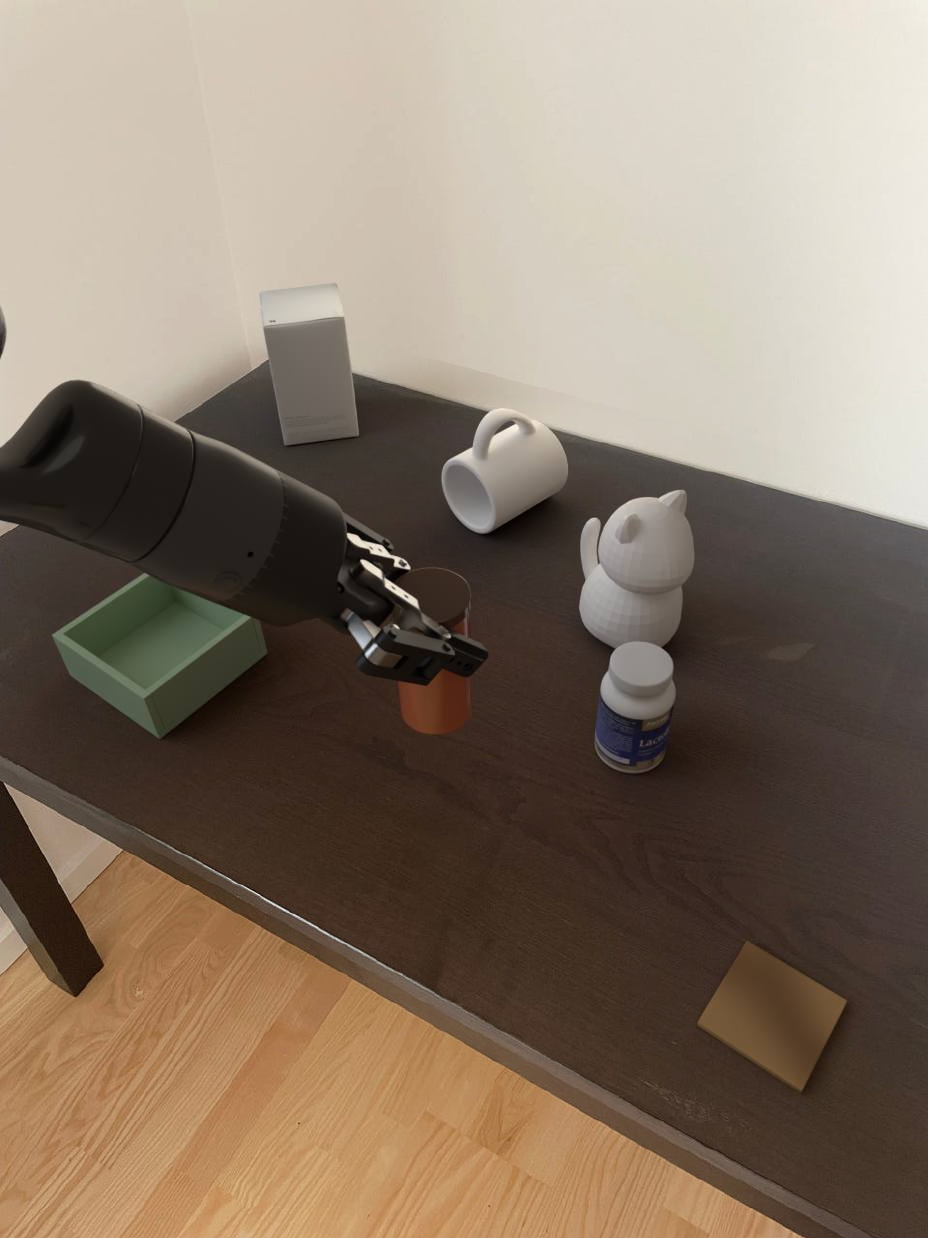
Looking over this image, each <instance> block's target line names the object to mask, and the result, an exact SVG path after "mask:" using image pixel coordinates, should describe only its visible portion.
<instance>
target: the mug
mask: <svg viewBox="0 0 928 1238" xmlns="http://www.w3.org/2000/svg"><path fill="white" fill-rule="evenodd" d="M511 421H512V422H513V423H514V424H513V425H511V426H509V427H507V428H505V429H504V430H501V431H500V432H498V433H496V432H497V431H498V429H500V428H501V427H502V426H503V425H504V424H506V423H507V422H511ZM568 464H569V463H568V459H567V455H566V453H565V450H564V448H563V445H562V443H561V442H560V440H559V438H558V437H557V436H556V435H555V434H554V432H553V431H552V430H551V429H550V428H549V427H548V426H546V425H545V424H543V423H542V422H540V421H537V420H535V419H530V418H529V417H527V416H526V415H525V414H523V413H522V412H520V411H517V410H515V409H512V408H505V407H500V408H494V409H493V410H490V411H489V412H487V413H486V414H485V415H484V416H483V418H481V421H480V422H479V424H478V426H477V429H476V431H475V434H474V437H473V442H472V447H469V448H467V449H466V450H464V451H463V452H461V453H459V454H456V455H455V456H453V457H451V458H450V459H448V460H447V461H446V462H445V464H444V465H443V467H442V470H441V486H442V491H443V494H444V497H445V500H446V501H447V504H448V506H449V508H450V510H451V511H452V512H453V515H454V516H455V517H456V518H457V519H458V520H459V522H460V523H461V524H462V525H463V526H464V527H466V528H467V529H469V530H470V531H472V532H474V533H477V534H481V535H482V534H483V535H484V534H485V535H486V534H489V533H491V532H493V531H495V530H496V529H498V528H499V527H501V526H503V525H505V524H507V523H508V522H510V521H511V520H513V519H515V518H516V517H518V516H520V515H521V514H523V513H524V512H526V511H527V510H530V509H531V508H533V507H535V506H536V505H537V504H540V503H541V502H543V501H545V500H546V499H548V498H550V497H551V496H553V495H555V494H556V493H558V492H559V491H561V490H562V489H563V488H564V486H565V485H566V482H567V480H568V477H569V465H568Z"/></svg>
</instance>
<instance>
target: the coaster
mask: <svg viewBox="0 0 928 1238" xmlns="http://www.w3.org/2000/svg"><path fill="white" fill-rule="evenodd" d="M847 1003H848V1000H847V999H845V998H844V997H842V996H840V995H839V994H837V993H836V992H833V991H832V990H831V989H828V988H827V987H825V986H823V985H822V984H820V983H818V982H817V981H815V980H814V979H812V978H810V977H809V976H807V975H805V974H804V973H802V972H800V971H799V970H797V969H796V968H794V967H792V966H791V965H789V964H787V963H785V962H784V961H782V960H780V959H779V958H777V957H775V956H773V955H772V954H770V953H769V952H767V951H765V950H764V949H762V948H760V947H759V946H757V945H756V944H753V942H751V941H749V940H746V941H745V942H744V944H743V946H742V948H741V949H740V951H739V952H738V954H737V956H736V958H735V959H734V961H733V963H732V964H731V966H730V968H729V969H728V971H727V972H726V974H725V976H724V977H723V979H722V981H721V982H720V985H719V986H718V987H717V989H716V991H715V993H714V994H713V996H712V997H711V999H710V1000H709V1002H708V1004H707V1006H706V1007H705V1009H704V1010H703V1012H702V1014H701V1016H700V1017H699V1019H698V1021H697V1023H696V1026H698V1028H699V1029H702V1031H705V1032H706V1033H708V1034H709V1035H710V1036H712V1037H714V1038H715V1039H717V1040H718V1041H720V1042H721V1043H723V1044H724V1045H726V1046H727V1047H729V1048H730V1049H732V1050H734V1051H735V1052H736V1053H739V1055H741V1056H742V1057H744V1058H746V1059H747V1060H749V1061H750V1062H751V1063H753V1064H755V1065H756V1066H757V1067H759V1068H760V1069H762V1070H764V1072H766V1073H768V1074H770V1075H771V1076H773V1078H776V1079H777V1080H779V1081H780V1082H782V1083H783V1084H784V1085H786V1086H788V1087H789V1088H791V1089H792V1090H794V1091H795V1092H797V1093H799V1094H802V1093H803V1091H804V1088H805V1087H806V1085H807V1082H808V1081H809V1079H810V1077H811V1074H812V1072H813V1071H814V1069H815V1067H816V1065H817V1063H818V1061H819V1059H820V1057H821V1055H822V1053H823V1051H824V1049H825V1047H826V1045H827V1043H828V1041H829V1040H830V1037H831V1035H832V1033H833V1032H834V1029H835V1027H836V1025H837V1023H838V1021H839V1019H840V1017H841V1015H842V1014H843V1011H844V1010H845V1007H846V1005H847Z"/></svg>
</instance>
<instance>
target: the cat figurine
mask: <svg viewBox="0 0 928 1238" xmlns="http://www.w3.org/2000/svg"><path fill="white" fill-rule="evenodd" d="M687 497H688V496H687V491H686V490H685V489H677V490H676V489H675V490H672V491H670V492H667V493H665V494H663V495H661V496H660V497H654V496H644V497H643V496H642V497H637V498H633V499H631V500H628V501H627V502H625V503H624V504H622V505H621V506H619V507H618V508H617V509H616V510H615V511H614V512H612V514H611V515H610V517H609V518H608V520H607V521H606V523H605V525H604V526H603V529H602V532H601V534H600V531H601V521H600V519H599V518H598V517H591V518H590V519H589V520H587V521H586V523H585V524H584V526H583V528H582V532H581V534H580V541H579V542H580V550H579V551H580V561H581V567H582V571H583V576H584V580H585V581H584V583H583V585H582V588H581V591H580V592H581V593H580V597H579V603H578V604H579V605H578V609H579V614H580V618H581V621H582V623H583V625H584V627H585V628H586V629H587V630H588V632H589V633H590V634H591V635H592V636H593V637H595V639H598V640H599V641H601V642H602V643H604V644H606V645H607V646H609V647H611V648H613V649H614V650H616V649H617V648H618V647H619V646H621V645H623V644H625V643H629V642H647V643H651V644H654V645H657V646H659V647H660V648H663V647H664V646H666V644H668V643H669V641H670V640H671V639H672V638H673V637H674V636H675V634H676V633H677V631H678V629H679V626H680V623H681V621H682V612H683V611H682V610H683V604H684V603H683V601H684V600H683V599H684V598H683V589H682V586H683V585H684V584H685V583H686V581H687V580H688V579H689V578H690V576H691V574H692V572H693V570H694V564H695V546H694V544H695V543H694V538H693V532H692V528H691V526H690V523H689V520H688V519H687V517H686V515H685V514H686V510H687V506H688V505H687V504H688V498H687ZM599 536H600V538H599ZM598 541H599V542H598Z"/></svg>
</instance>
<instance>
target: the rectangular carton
mask: <svg viewBox="0 0 928 1238" xmlns="http://www.w3.org/2000/svg"><path fill="white" fill-rule="evenodd" d="M259 302H260V303H259V304H260V311H261V313H260V314H261V322H262V331H263V337H264V342H265V347H266V352H267V358H268V363H269V368H270V369H269V370H270V374H271V379H272V384H273V390H274V396H275V401H276V407H277V411H278V412H277V413H278V418H279V423H280V428H281V435H282V439H283V444H284V446H292V445H301V444H308V443H315V442H322V441H331V440H338V439H347V438H353V437H359V436H360V431H359V421H358V413H357V404H356V395H355V388H354V379H353V369H352V363H351V354H350V347H349V339H348V333H347V323H346V318H345V314H344V309H343V303H342V301H341V295H340V292H339V288H338V284H337V283H336V282H333V283H322V284H315V285H308V286H306V285H305V286H298V287H290V288H289V287H288V288H280V289H271V290H269V289H268V290H264V291H260V292H259Z"/></svg>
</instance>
